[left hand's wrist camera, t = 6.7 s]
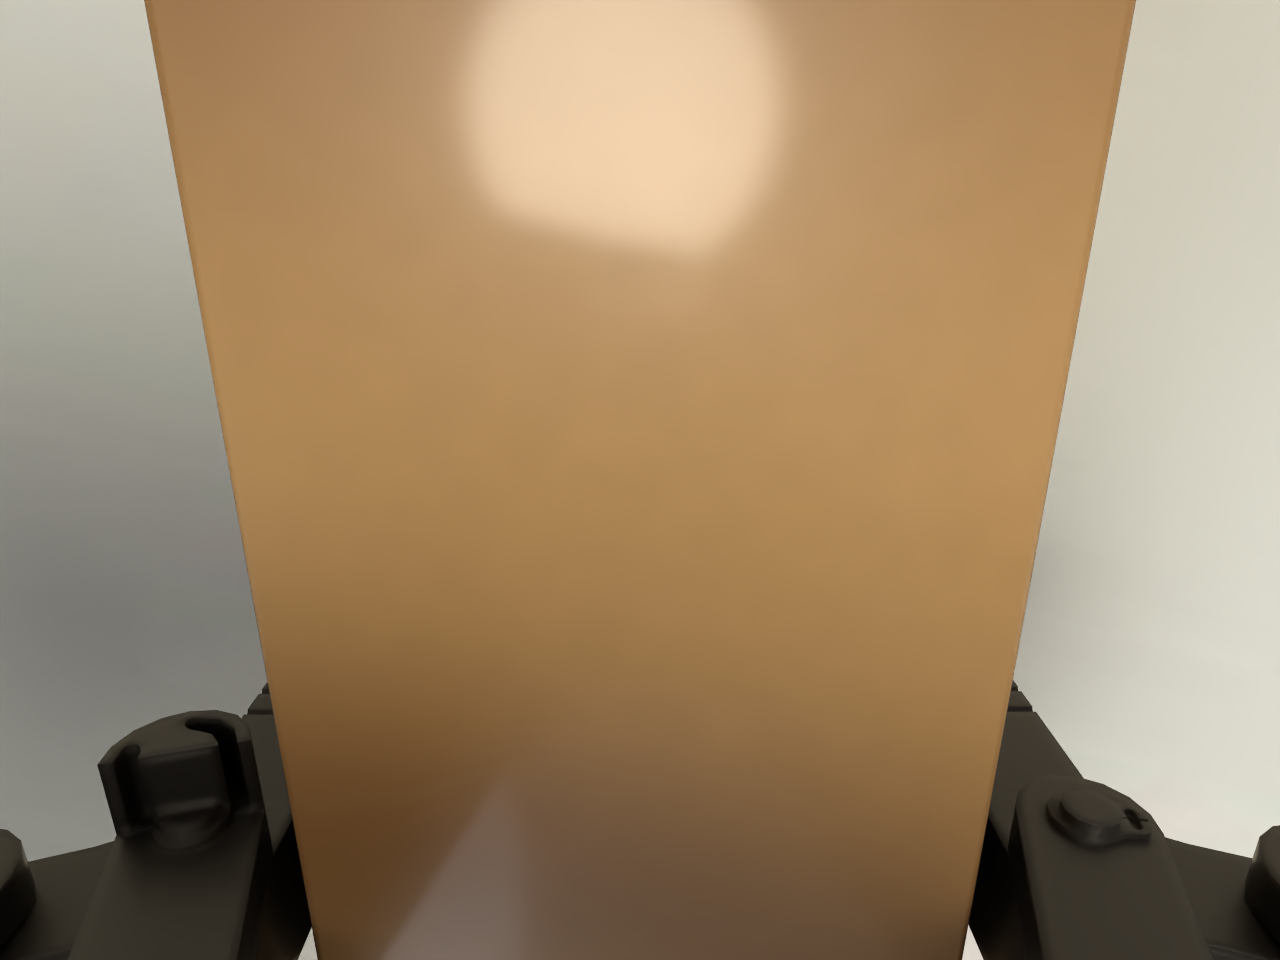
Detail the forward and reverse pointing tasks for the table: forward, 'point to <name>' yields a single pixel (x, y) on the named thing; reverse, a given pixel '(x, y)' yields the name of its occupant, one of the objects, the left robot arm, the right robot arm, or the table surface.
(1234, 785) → the table surface
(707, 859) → the beam
